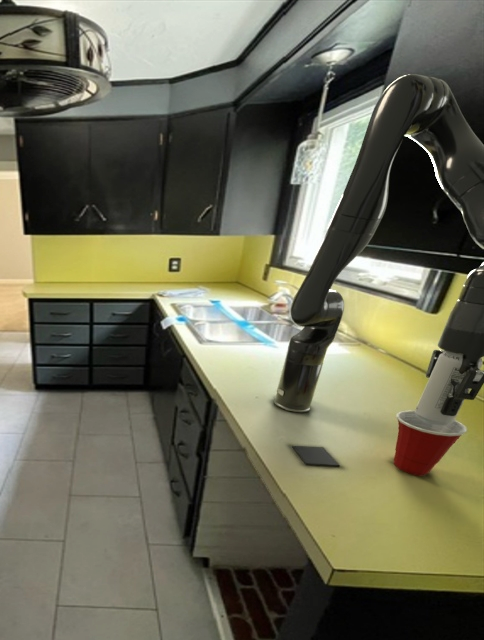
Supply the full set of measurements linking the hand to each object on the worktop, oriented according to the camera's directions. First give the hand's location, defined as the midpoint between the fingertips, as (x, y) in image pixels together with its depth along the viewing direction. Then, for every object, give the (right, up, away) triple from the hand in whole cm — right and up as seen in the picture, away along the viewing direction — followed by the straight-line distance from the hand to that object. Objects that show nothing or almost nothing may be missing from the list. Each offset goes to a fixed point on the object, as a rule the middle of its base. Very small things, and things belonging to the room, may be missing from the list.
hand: (438, 407), depth 74 cm
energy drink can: (0, -3, +1) cm, 3 cm away
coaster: (-19, -12, +9) cm, 24 cm away
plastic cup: (-1, -14, +6) cm, 15 cm away
